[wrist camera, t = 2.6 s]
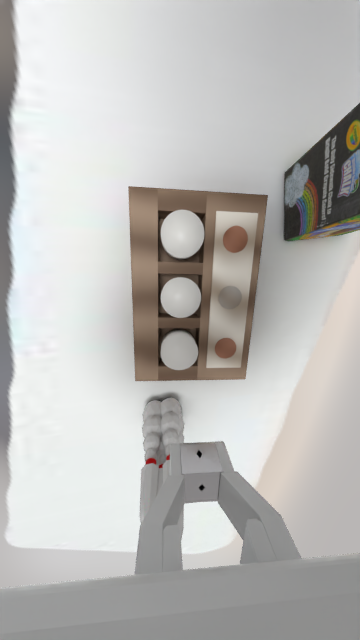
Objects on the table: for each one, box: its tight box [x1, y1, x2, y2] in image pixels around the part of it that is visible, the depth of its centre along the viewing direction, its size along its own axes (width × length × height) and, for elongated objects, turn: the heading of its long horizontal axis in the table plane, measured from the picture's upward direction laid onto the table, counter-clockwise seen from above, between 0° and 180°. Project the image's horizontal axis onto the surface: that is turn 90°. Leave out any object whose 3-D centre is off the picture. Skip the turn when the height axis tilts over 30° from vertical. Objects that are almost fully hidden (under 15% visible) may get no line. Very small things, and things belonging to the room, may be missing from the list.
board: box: [128, 186, 268, 381], centre depth 25 cm, size 24×16×4 cm, turn 179°
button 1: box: [161, 328, 198, 370], centre depth 24 cm, size 5×5×3 cm
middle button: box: [161, 277, 201, 318], centre depth 23 cm, size 5×5×3 cm
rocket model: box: [140, 398, 184, 538], centre depth 17 cm, size 7×7×30 cm
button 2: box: [161, 210, 204, 260], centre depth 21 cm, size 5×5×3 cm
